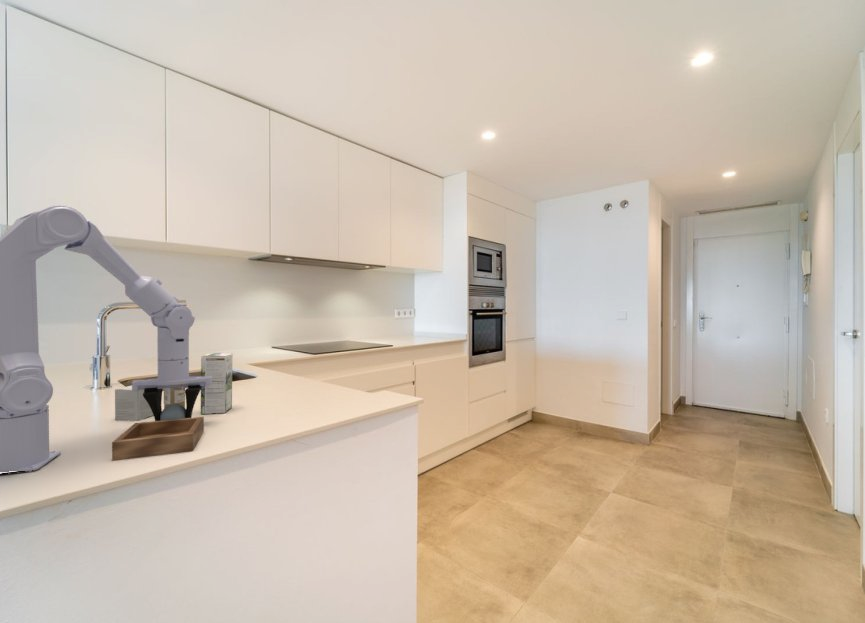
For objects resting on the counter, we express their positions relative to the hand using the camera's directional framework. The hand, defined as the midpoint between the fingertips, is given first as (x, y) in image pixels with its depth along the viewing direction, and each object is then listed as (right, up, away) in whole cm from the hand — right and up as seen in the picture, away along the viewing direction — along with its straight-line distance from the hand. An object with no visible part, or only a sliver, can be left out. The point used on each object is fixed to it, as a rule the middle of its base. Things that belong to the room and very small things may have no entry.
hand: (173, 420), depth 85 cm
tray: (+5, -2, -10) cm, 12 cm away
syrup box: (+2, -1, +13) cm, 13 cm away
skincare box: (-14, -2, +8) cm, 16 cm away
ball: (0, -1, 0) cm, 1 cm away
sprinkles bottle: (-6, -2, +9) cm, 11 cm away
